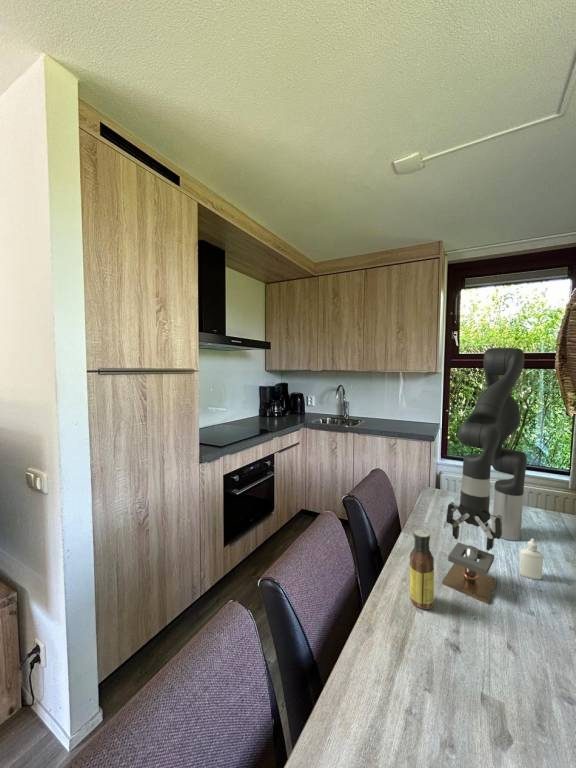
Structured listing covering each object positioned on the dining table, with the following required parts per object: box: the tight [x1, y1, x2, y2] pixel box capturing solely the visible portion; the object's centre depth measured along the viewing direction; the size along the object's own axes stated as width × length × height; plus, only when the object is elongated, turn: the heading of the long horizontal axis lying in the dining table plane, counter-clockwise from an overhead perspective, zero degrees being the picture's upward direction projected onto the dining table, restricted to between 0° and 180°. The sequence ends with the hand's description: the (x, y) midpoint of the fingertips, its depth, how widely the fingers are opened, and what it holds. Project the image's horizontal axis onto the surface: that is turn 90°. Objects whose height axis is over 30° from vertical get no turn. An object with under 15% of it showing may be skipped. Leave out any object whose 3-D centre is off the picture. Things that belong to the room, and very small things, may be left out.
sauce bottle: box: [409, 529, 435, 610], centre depth 90 cm, size 7×6×20 cm
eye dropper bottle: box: [518, 537, 544, 581], centre depth 102 cm, size 4×6×12 cm
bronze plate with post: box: [441, 544, 498, 605], centre depth 98 cm, size 12×12×11 cm
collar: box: [447, 542, 495, 576], centre depth 98 cm, size 10×10×2 cm
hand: (471, 543), depth 98 cm, fingers open, 8 cm apart
